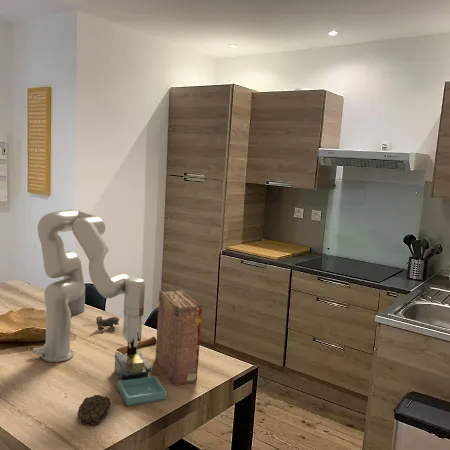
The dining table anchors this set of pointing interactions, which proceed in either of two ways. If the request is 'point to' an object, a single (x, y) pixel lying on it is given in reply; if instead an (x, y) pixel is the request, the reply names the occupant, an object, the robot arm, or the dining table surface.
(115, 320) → the dog figurine
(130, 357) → the tan wooden cube
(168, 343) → the book
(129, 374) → the grey block holder
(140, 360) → the tan wooden block
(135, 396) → the tray
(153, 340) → the primitive tool
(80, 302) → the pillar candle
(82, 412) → the dark brown rock
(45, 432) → the dining table surface
